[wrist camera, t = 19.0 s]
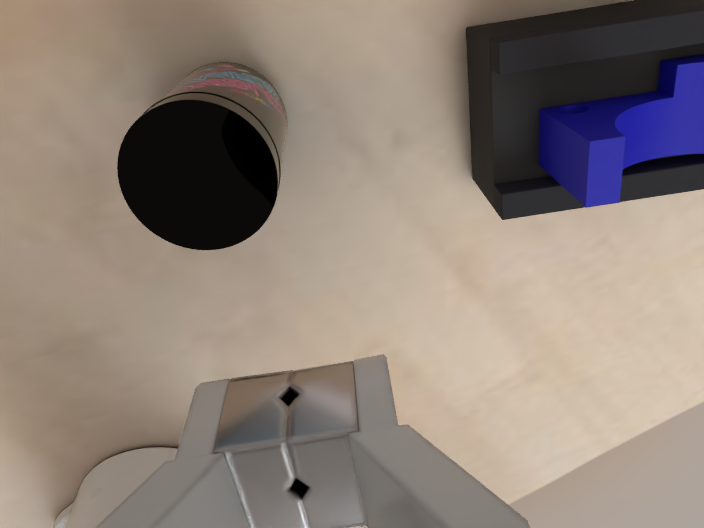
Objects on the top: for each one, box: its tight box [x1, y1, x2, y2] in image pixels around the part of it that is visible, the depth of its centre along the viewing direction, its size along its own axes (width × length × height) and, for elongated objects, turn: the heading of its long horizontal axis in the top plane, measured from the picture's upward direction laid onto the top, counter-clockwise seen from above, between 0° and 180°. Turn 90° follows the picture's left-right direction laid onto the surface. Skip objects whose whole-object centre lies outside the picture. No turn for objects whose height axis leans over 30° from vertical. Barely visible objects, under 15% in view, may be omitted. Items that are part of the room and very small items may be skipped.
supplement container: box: [117, 62, 287, 250], centre depth 29 cm, size 7×7×10 cm
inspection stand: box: [466, 0, 704, 220], centre depth 31 cm, size 9×16×6 cm, turn 98°
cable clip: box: [539, 54, 704, 207], centre depth 27 cm, size 12×4×6 cm, turn 98°
